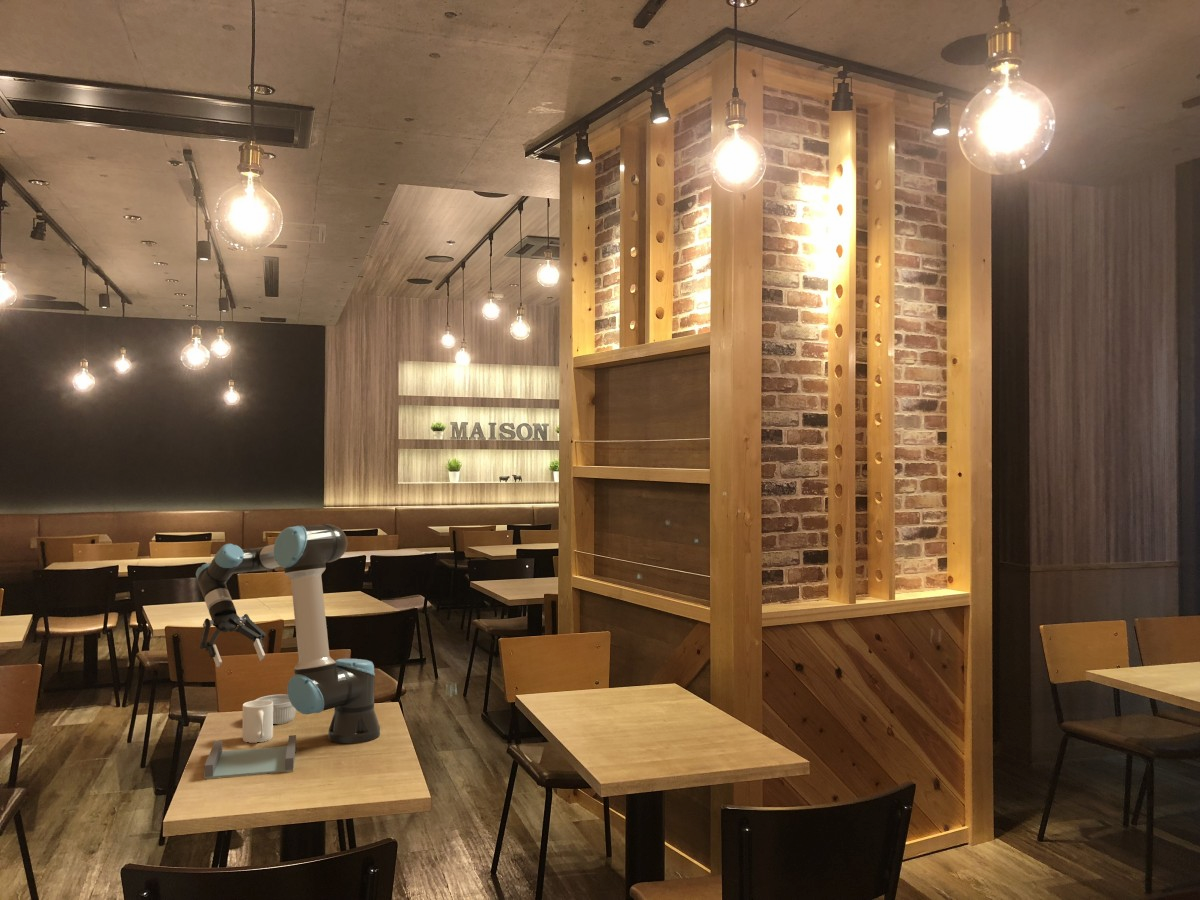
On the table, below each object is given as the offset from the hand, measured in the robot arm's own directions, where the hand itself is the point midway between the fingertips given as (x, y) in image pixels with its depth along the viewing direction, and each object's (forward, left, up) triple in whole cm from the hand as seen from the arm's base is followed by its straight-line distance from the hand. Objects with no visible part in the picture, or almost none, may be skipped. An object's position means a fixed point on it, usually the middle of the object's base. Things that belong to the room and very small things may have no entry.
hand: (241, 661), depth 284 cm
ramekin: (-2, -15, -22) cm, 27 cm away
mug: (-10, +6, -22) cm, 25 cm away
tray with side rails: (-20, +24, -22) cm, 38 cm away
